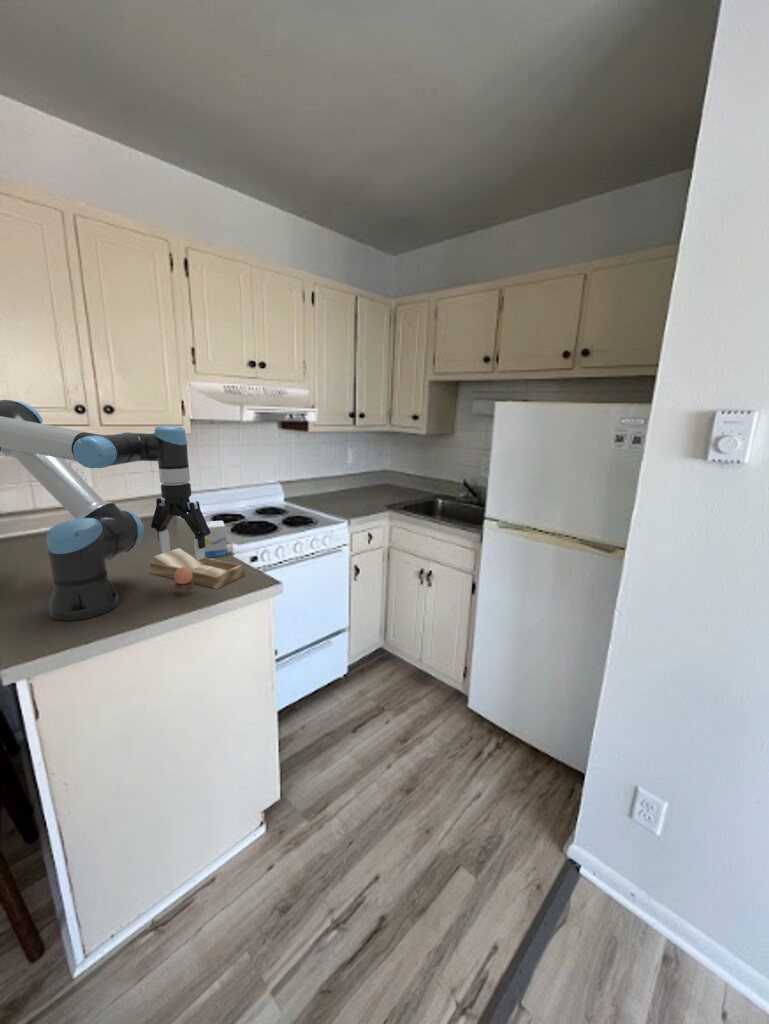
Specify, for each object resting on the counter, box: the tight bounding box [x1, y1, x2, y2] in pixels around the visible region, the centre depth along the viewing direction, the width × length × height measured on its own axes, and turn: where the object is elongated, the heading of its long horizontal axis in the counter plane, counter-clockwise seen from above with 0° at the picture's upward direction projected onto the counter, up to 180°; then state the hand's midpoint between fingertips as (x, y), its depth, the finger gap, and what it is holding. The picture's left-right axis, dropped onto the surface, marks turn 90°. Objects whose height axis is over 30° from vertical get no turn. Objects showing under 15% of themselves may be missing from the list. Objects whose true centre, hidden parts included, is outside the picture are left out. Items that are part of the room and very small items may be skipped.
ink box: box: [204, 520, 228, 559], centre depth 158 cm, size 9×8×12 cm
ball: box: [174, 567, 193, 584], centre depth 125 cm, size 5×5×5 cm
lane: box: [149, 547, 245, 590], centre depth 139 cm, size 12×28×6 cm, turn 67°
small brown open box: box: [173, 581, 195, 597], centre depth 125 cm, size 4×4×3 cm
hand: (182, 555), depth 123 cm, fingers open, 13 cm apart
